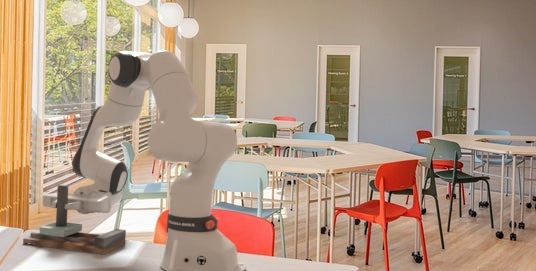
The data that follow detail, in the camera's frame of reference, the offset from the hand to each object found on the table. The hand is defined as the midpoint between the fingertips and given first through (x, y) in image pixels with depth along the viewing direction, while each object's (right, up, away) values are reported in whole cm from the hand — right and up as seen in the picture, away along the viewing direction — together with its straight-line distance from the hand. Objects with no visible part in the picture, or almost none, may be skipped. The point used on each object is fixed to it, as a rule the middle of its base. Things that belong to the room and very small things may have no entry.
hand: (60, 206), depth 159 cm
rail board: (+4, -11, 0) cm, 12 cm away
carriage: (0, -8, +1) cm, 8 cm away
